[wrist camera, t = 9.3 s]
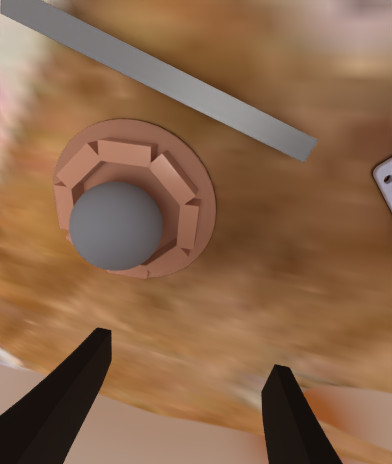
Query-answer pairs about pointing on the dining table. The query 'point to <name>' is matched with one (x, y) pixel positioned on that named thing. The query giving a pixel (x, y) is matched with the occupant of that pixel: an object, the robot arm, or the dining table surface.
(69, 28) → the low wall
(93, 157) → the bowl
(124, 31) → the dining table surface
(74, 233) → the ball
